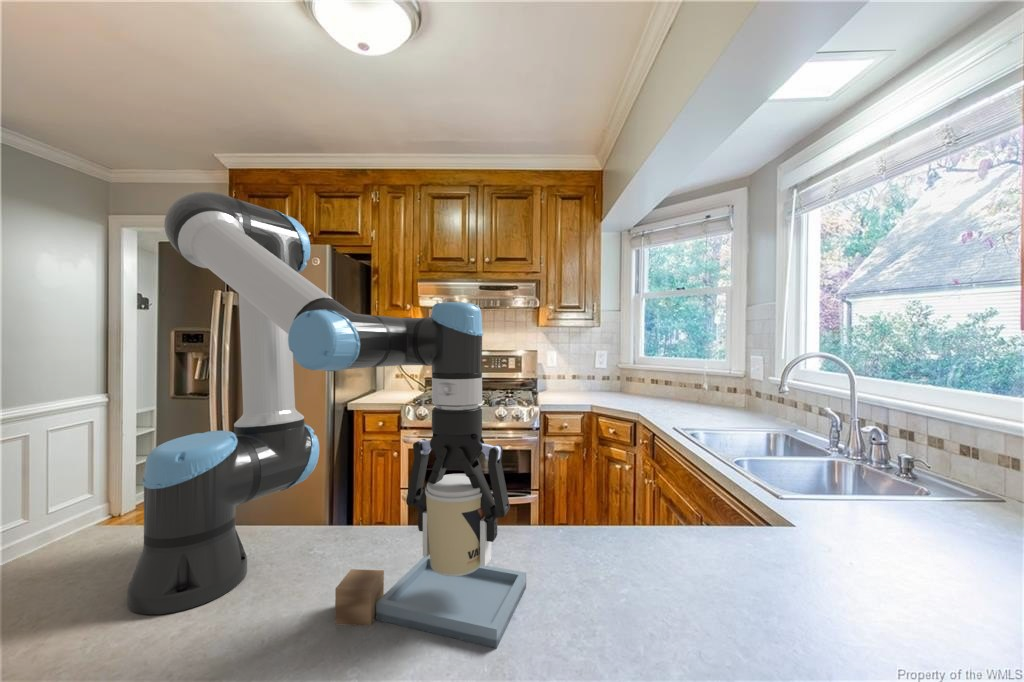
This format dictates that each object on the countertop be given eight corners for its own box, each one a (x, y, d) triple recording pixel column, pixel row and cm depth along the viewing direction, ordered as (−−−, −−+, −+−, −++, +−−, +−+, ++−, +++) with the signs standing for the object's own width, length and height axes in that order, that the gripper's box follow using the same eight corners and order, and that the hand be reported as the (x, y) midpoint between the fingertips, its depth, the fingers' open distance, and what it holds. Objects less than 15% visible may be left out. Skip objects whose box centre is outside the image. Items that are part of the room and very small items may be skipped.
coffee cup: (477, 583, 58) (478, 495, 58) (414, 576, 59) (414, 490, 60) (494, 550, 67) (494, 474, 67) (438, 545, 69) (438, 471, 69)
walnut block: (335, 624, 58) (335, 588, 58) (350, 602, 63) (351, 569, 63) (370, 626, 58) (371, 589, 58) (383, 603, 63) (383, 570, 63)
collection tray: (375, 619, 59) (376, 602, 59) (425, 568, 72) (425, 554, 72) (496, 648, 54) (496, 629, 54) (526, 587, 67) (526, 572, 67)
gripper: (381, 406, 63) (380, 558, 63) (518, 413, 56) (517, 582, 56) (408, 399, 70) (407, 536, 70) (532, 405, 64) (532, 555, 63)
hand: (456, 556), depth 63 cm, fingers closed on coffee cup, 9 cm apart
